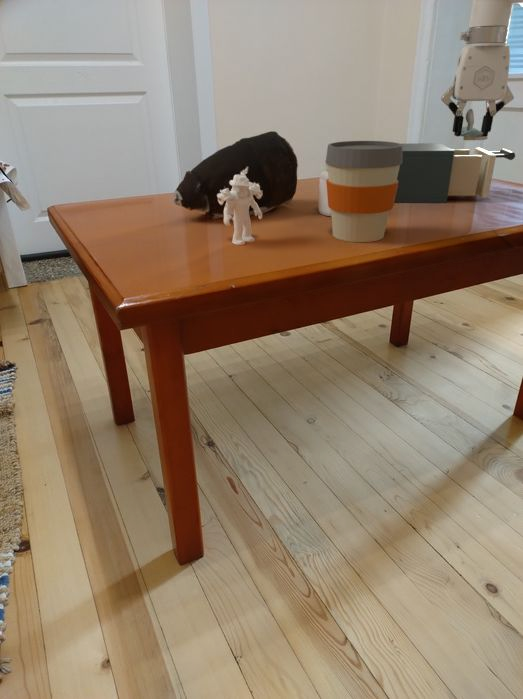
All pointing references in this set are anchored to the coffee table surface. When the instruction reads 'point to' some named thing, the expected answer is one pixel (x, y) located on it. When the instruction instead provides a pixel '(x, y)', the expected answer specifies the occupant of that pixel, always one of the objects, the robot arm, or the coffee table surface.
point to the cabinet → (424, 173)
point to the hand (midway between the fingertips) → (470, 134)
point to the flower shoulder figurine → (240, 206)
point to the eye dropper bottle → (323, 193)
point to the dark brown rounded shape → (218, 169)
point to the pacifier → (471, 129)
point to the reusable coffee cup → (362, 187)
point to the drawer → (474, 171)
